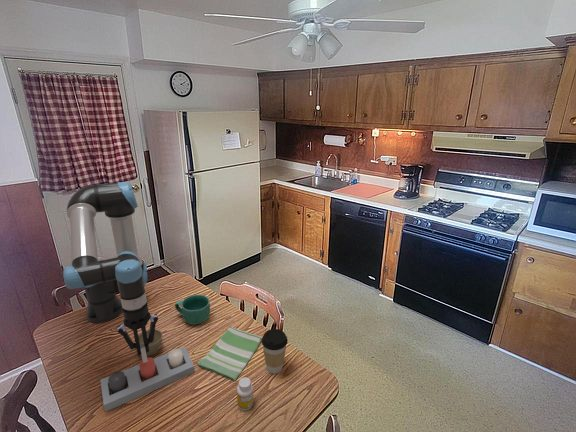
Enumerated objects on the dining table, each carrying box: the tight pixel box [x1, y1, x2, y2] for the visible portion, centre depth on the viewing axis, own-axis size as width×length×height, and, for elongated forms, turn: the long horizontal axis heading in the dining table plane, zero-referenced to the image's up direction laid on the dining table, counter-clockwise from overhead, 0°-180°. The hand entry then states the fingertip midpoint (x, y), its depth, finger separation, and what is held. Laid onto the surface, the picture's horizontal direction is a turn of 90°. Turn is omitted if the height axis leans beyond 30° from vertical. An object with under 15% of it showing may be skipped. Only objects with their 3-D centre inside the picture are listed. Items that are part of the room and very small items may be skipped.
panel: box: [100, 346, 196, 412], centre depth 115 cm, size 12×30×3 cm, turn 124°
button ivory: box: [168, 348, 185, 370], centre depth 120 cm, size 5×5×6 cm
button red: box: [138, 357, 157, 381], centre depth 114 cm, size 5×5×6 cm
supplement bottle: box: [236, 377, 254, 411], centre depth 105 cm, size 5×5×10 cm
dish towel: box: [196, 326, 263, 382], centre depth 128 cm, size 18×23×3 cm
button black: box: [108, 370, 128, 395], centre depth 109 cm, size 5×5×6 cm
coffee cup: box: [261, 328, 288, 375], centre depth 119 cm, size 10×10×15 cm
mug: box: [174, 294, 211, 325], centre depth 147 cm, size 17×13×10 cm
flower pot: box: [138, 328, 163, 357], centre depth 127 cm, size 10×10×7 cm
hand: (144, 359), depth 112 cm, fingers closed
